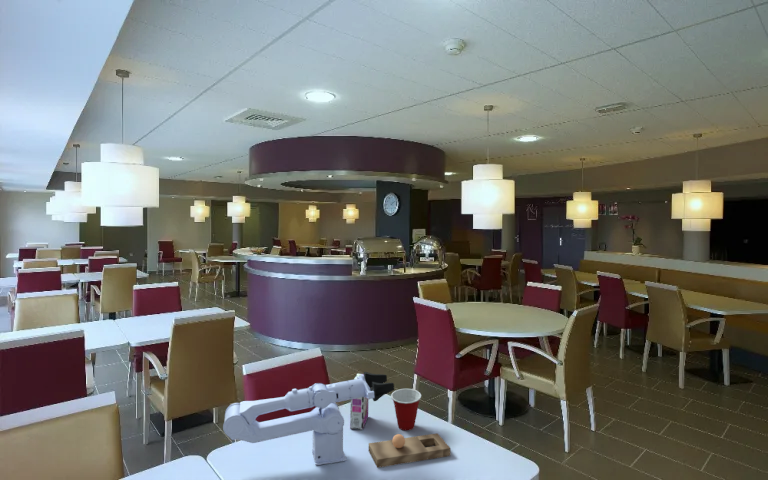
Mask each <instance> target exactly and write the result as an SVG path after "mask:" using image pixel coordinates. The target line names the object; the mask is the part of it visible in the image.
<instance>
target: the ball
mask: <svg viewBox="0 0 768 480" xmlns="http://www.w3.org/2000/svg"><path fill="white" fill-rule="evenodd" d="M405 438H406V437H404V435H402V434H399V433H397V434H394V435H393V437H392V439H391V440H392V442H393V445H394V446H395V447H396V448H401V447H403V446H404V444H405Z"/></svg>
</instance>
